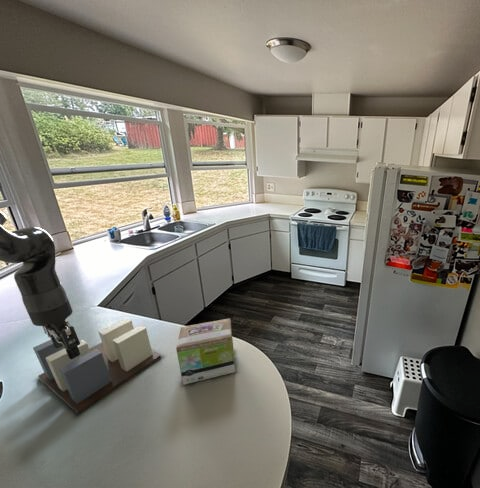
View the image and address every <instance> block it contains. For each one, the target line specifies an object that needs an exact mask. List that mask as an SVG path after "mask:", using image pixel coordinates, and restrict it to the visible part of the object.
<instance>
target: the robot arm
mask: <svg viewBox="0 0 480 488" xmlns="http://www.w3.org/2000/svg"><path fill="white" fill-rule="evenodd" d="M7 220H8V217H7V215H6V214H5V213H4V212H2V211H1V210H0V262H3V263H6V264H21V263H22V265H21V266H20V267H19V268H18V269H17V270H16V271H15V272H14V274H13V279H14V281H15V284H16V286H17V289H18V292H19V293H20V295H21V300H22V303H23V306H24V308H25V310H26V312H27V314H28V317H29V319H30V321H31V324H32V325H34V326H35V327H42V329H43V331H44V334H45V335H47V337H48V338H49V339H50V340H52V342H53V344H54V347H55V348H57V349H58V348H60V347H62V346H64V349H65V350H66V352H67V355H68V357H69V358H70V359H74V358H76V357H77V356H79V355H80V351H79V349H78V345H80V341H81V340H80V339H79V336H78V335H77V332H76V329H75V327H74V326H73V325H71V323H70V322H69V321H68V320H67V319H68V318H69V317H70V316H71V315H72V314H73V308H72V305H71V303H70V300H69V297H68V294H67V293H66V290H65V288H64V287H63V284H62V282H61V280H60V278H59V275H58V272H57V271H56V270H57V269H56V246H55V242H54V240H53V237H52V236H51V234H49V233H48V232H47V231H46V230H45V229H42V228H40V227H36V226H27V227H23V228H19V229H16V230H13V231H8V230H7V229H5V227H3V226H5V224H6V222H7ZM66 320H67V321H66ZM71 340H72V341H73V342H71V343H69V341H71Z"/></svg>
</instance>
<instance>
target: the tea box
mask: <svg viewBox="0 0 480 488" xmlns="http://www.w3.org/2000/svg"><path fill="white" fill-rule="evenodd" d="M175 349H176V356H177V360H178V365H179V371H180V375H181V381H182V384H183V385H184V386H185V385H189V384H192V383H193V384H194V383H196V382H201V381H205V380H209V379H213V378H217V377H221V376H225V375H229V374H234V373H235V372H236V369H235V351H234V340H233V330H232V320H231V318H223V319H219V320H213V321H208V322H207V321H206V322H202V323H197V324H190V325H184V326H180V329H179V334H178V338H177V344H176V348H175Z"/></svg>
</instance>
